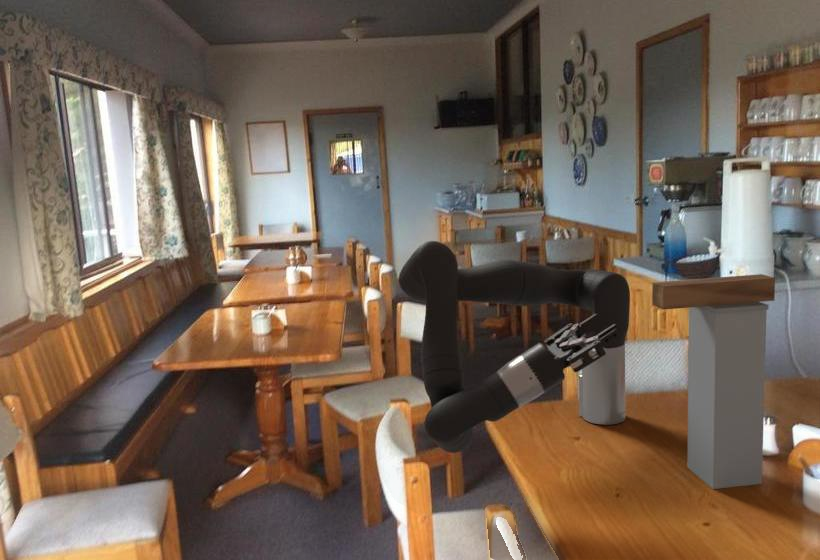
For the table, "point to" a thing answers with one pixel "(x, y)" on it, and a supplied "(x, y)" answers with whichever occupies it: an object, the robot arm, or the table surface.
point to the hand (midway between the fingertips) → (609, 323)
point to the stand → (726, 393)
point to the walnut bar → (713, 291)
